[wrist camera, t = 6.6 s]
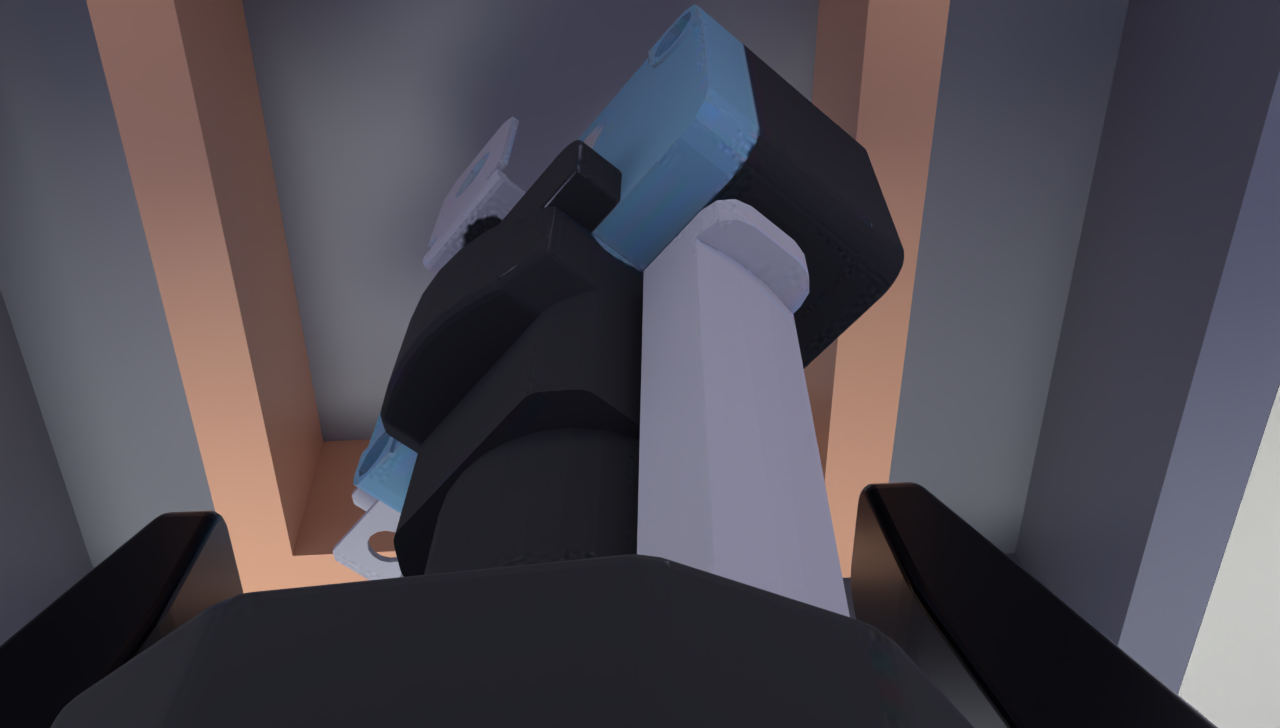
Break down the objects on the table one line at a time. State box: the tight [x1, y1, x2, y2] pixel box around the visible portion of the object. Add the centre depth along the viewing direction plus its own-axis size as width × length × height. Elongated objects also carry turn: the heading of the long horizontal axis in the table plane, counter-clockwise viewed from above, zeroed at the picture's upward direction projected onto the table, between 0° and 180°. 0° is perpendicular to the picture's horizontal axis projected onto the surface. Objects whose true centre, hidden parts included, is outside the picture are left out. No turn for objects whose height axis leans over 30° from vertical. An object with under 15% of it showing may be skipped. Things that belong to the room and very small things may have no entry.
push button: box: [51, 4, 974, 728], centre depth 8 cm, size 7×5×10 cm
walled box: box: [0, 0, 1280, 695], centre depth 14 cm, size 16×16×4 cm
